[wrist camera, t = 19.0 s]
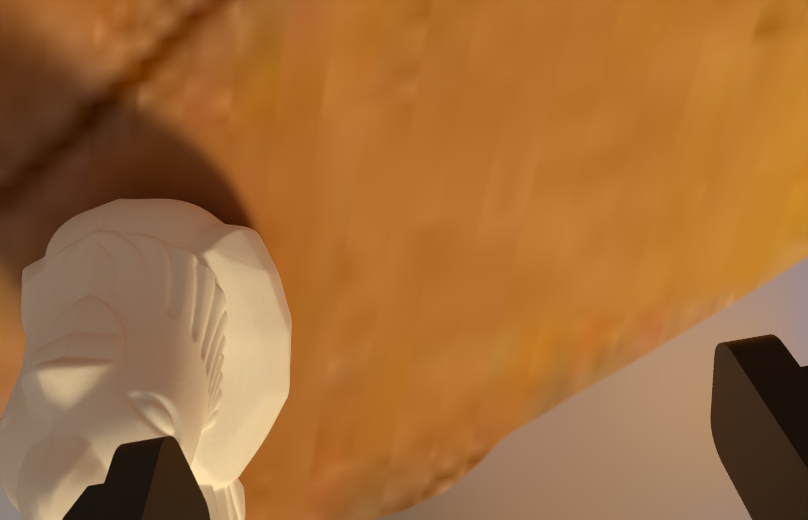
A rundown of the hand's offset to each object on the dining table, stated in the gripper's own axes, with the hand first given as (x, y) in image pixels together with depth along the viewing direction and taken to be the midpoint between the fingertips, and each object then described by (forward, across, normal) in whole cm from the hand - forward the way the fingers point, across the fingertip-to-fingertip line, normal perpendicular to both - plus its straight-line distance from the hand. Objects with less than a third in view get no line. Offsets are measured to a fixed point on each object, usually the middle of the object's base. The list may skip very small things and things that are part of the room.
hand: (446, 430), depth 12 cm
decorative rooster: (+36, +18, +22) cm, 46 cm away
